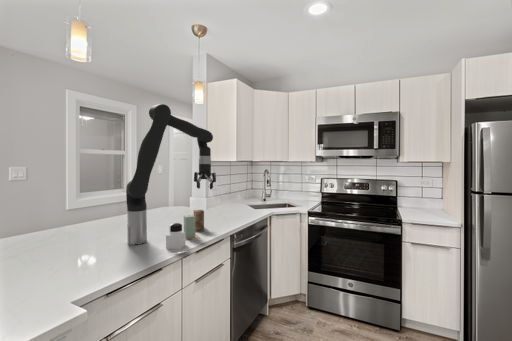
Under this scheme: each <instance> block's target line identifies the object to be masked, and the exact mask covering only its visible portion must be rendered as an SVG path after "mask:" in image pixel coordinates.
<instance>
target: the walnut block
mask: <svg viewBox="0 0 512 341" xmlns="http://www.w3.org/2000/svg"><path fill="white" fill-rule="evenodd" d="M193 215H194V216H195V231H203V230H204V227H205V211H204V210H203V209H194V210H193Z"/></svg>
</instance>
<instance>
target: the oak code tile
mask: <svg viewBox="0 0 512 341" xmlns="http://www.w3.org/2000/svg"><path fill="white" fill-rule="evenodd" d="M199 239H200V240H201V237H200V236H199V235H198V233H195V238H190V239H186V238H185V242H186V241H192V240H199Z"/></svg>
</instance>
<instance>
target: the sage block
mask: <svg viewBox="0 0 512 341" xmlns="http://www.w3.org/2000/svg"><path fill="white" fill-rule="evenodd" d="M183 232H185V238H186V239H190V238H195V234H196V233H195V216H194V214H186V215H183Z"/></svg>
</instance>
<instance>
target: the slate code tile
mask: <svg viewBox="0 0 512 341" xmlns="http://www.w3.org/2000/svg"><path fill="white" fill-rule="evenodd" d="M204 232H210V231H209V229H207V228H206V227H205V226H204V230H203V231H195V234H198V233H204Z"/></svg>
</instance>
